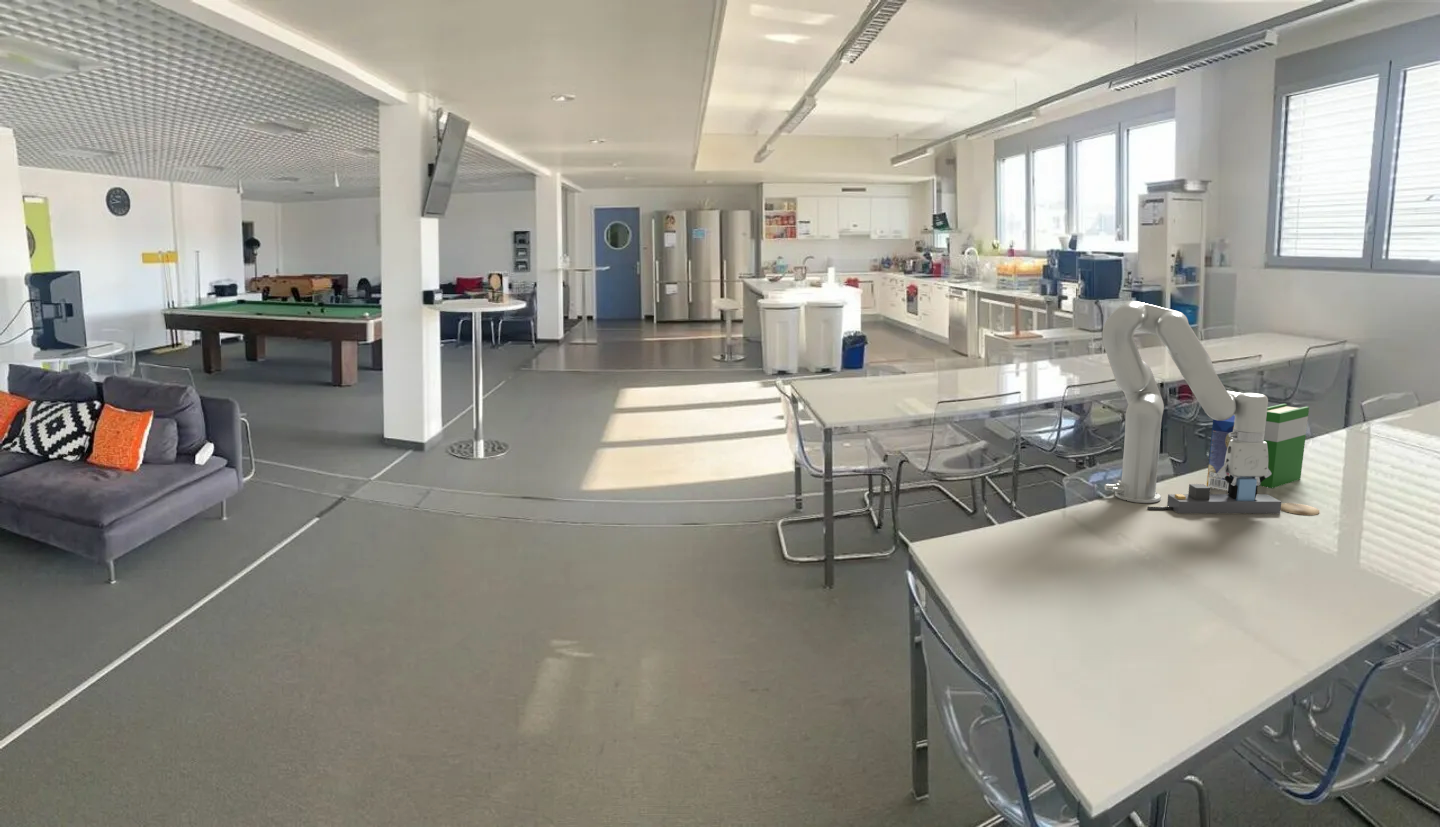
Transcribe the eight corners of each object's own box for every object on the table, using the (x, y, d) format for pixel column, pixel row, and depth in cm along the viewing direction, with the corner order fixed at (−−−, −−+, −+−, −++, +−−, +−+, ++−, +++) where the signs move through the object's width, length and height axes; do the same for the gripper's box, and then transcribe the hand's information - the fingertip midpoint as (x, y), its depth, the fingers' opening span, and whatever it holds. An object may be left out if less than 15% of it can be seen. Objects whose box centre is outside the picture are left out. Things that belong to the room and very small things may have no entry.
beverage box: (1244, 484, 262) (1251, 417, 257) (1229, 491, 255) (1237, 422, 251) (1220, 480, 267) (1227, 414, 263) (1206, 487, 260) (1212, 419, 256)
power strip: (1153, 513, 237) (1155, 489, 235) (1142, 506, 244) (1144, 482, 242) (1280, 513, 234) (1282, 489, 233) (1265, 505, 241) (1268, 482, 239)
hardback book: (1275, 474, 272) (1283, 403, 268) (1300, 479, 266) (1309, 407, 261) (1247, 482, 264) (1254, 410, 259) (1271, 488, 257) (1280, 413, 253)
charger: (1237, 506, 236) (1240, 479, 234) (1228, 501, 240) (1231, 475, 239) (1253, 506, 235) (1256, 479, 234) (1244, 501, 240) (1247, 475, 238)
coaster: (1290, 515, 232) (1290, 513, 232) (1269, 504, 242) (1270, 503, 242) (1327, 515, 232) (1327, 513, 232) (1305, 504, 241) (1305, 503, 241)
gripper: (1224, 439, 231) (1218, 501, 234) (1287, 439, 229) (1280, 501, 233) (1210, 433, 238) (1204, 493, 242) (1271, 433, 237) (1264, 493, 240)
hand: (1241, 496), depth 237 cm, fingers closed on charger, 4 cm apart
